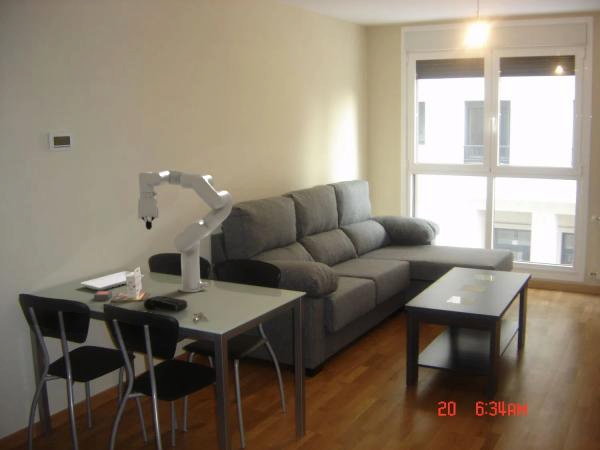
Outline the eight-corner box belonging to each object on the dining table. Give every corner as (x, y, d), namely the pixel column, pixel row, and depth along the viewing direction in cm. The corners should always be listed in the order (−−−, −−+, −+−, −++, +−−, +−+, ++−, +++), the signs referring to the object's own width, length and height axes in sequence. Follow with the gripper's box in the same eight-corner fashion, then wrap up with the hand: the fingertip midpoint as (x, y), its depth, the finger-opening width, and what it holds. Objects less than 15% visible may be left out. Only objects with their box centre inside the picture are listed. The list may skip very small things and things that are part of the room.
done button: (109, 296, 341) (109, 291, 341) (106, 298, 336) (106, 294, 336) (99, 296, 341) (99, 291, 340) (97, 299, 336) (96, 294, 335)
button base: (112, 296, 342) (111, 290, 342) (108, 300, 335) (108, 294, 335) (98, 296, 342) (97, 291, 341) (94, 300, 335) (93, 295, 334)
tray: (145, 280, 374) (145, 274, 374) (99, 293, 349) (99, 287, 349) (125, 276, 384) (125, 270, 383) (79, 289, 359) (79, 282, 358)
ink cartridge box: (133, 293, 343) (131, 266, 341) (142, 294, 343) (140, 266, 340) (126, 298, 335) (125, 270, 332) (136, 298, 334) (134, 270, 332)
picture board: (150, 294, 345) (149, 292, 345) (144, 301, 333) (144, 299, 332) (117, 294, 345) (117, 293, 345) (110, 302, 332) (110, 300, 332)
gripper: (162, 193, 354) (164, 227, 357) (134, 194, 353) (136, 228, 357) (159, 195, 346) (161, 230, 349) (131, 196, 346) (133, 230, 349)
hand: (149, 229), depth 353 cm, fingers closed
